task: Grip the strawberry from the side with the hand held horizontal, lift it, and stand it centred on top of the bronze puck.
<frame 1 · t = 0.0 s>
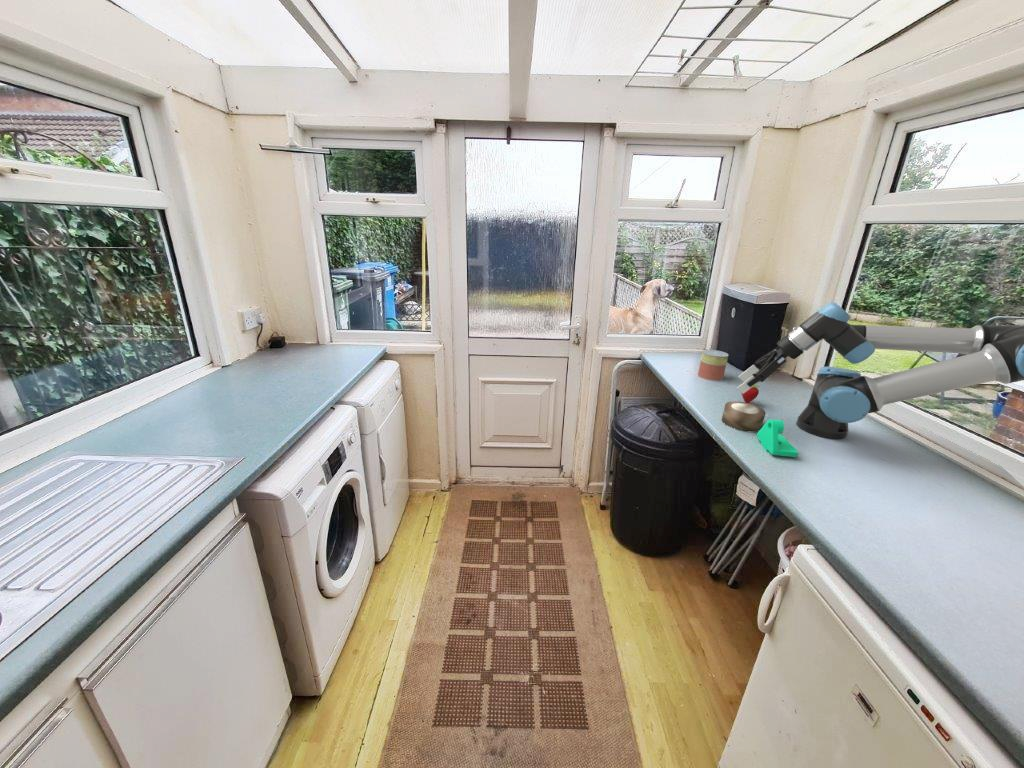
hand: (740, 384, 147), 15 cm above the worktop, tool tilted 35°, fingers open, 13 cm apart
strawberry: (746, 403, 171), on the worktop
bronze puck: (741, 423, 153), on the worktop
canned food: (710, 377, 200), on the worktop
camera mount: (775, 449, 136), on the worktop
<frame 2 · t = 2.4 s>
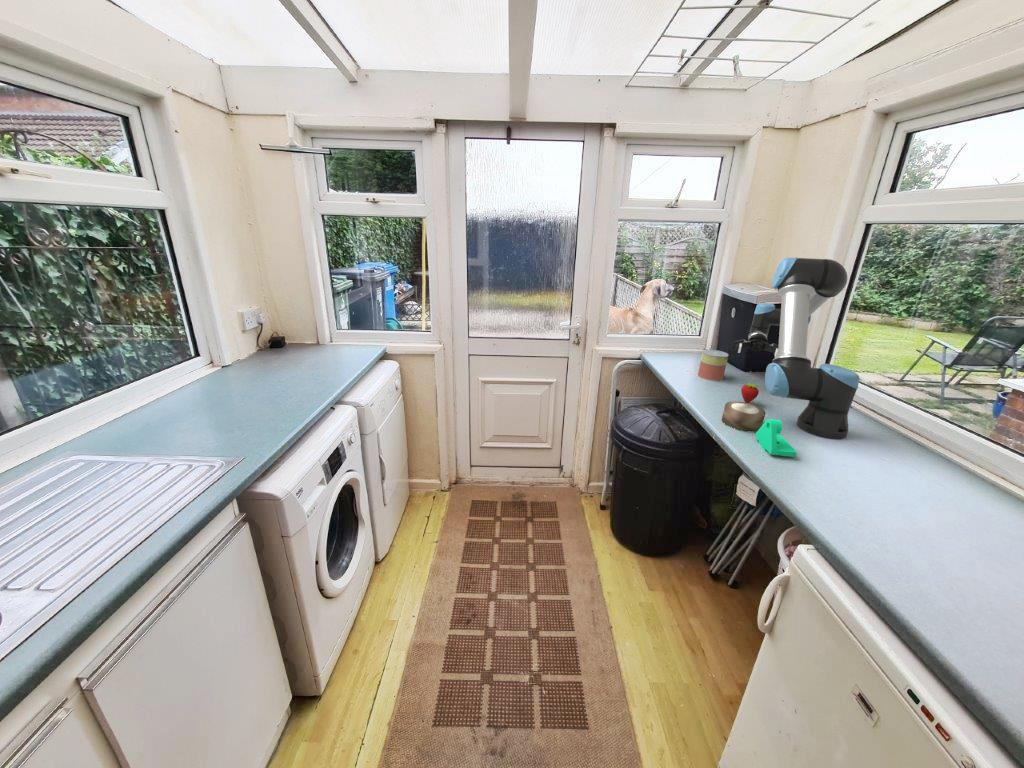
hand: (758, 352, 172), 19 cm above the worktop, tool horizontal, fingers open, 13 cm apart
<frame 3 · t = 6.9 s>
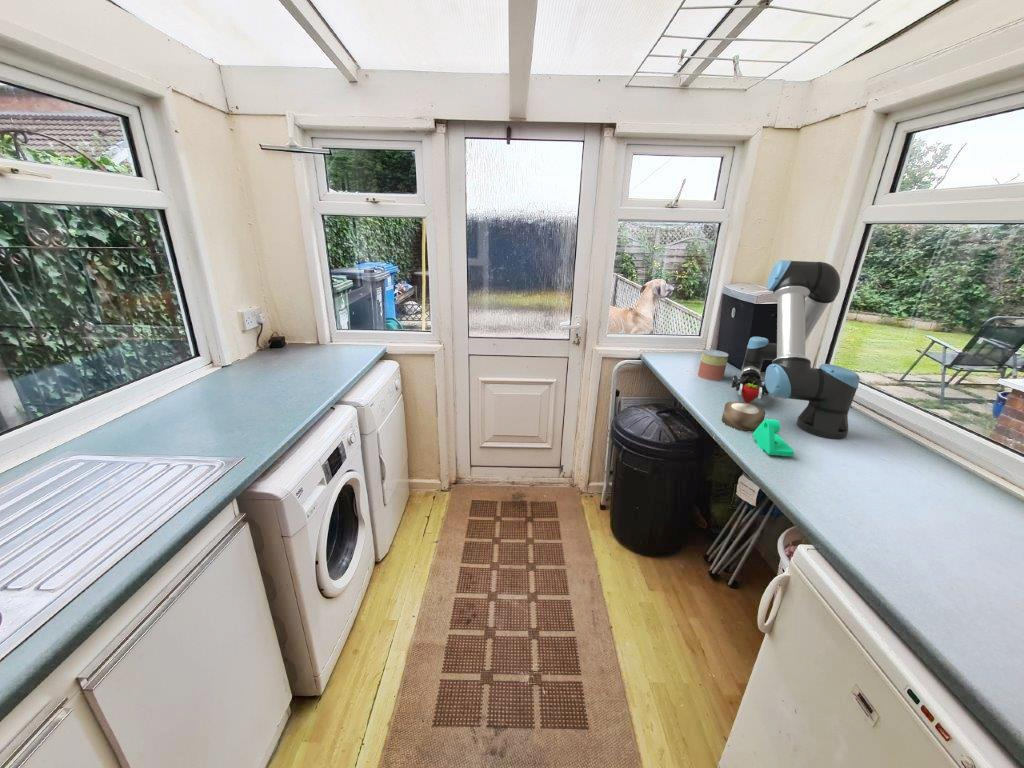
hand: (750, 393, 165), 6 cm above the worktop, tool horizontal, fingers closed on strawberry, 6 cm apart
strawberry: (746, 403, 171), on the worktop, touching gripper
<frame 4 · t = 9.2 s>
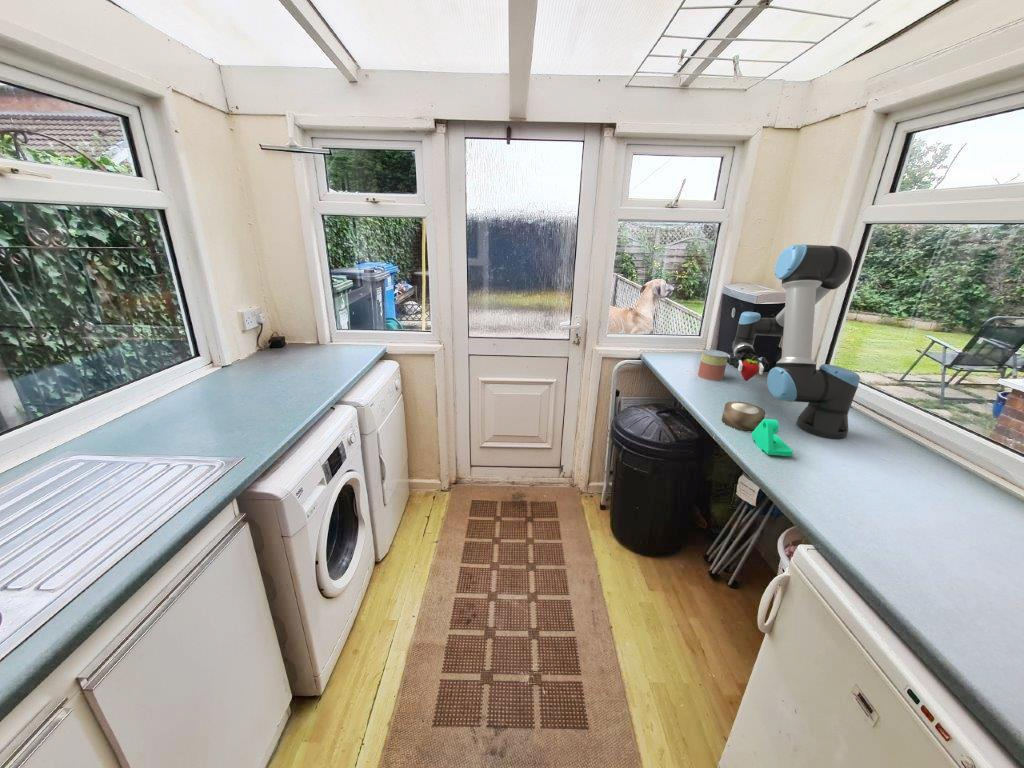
hand: (751, 369, 155), 18 cm above the worktop, tool horizontal, fingers closed on strawberry, 6 cm apart
strawberry: (745, 380, 161), point 12 cm above the worktop, touching gripper
when the fingers open (13 cm above the worktop, at t = 11.7 s): strawberry drops 1 cm, resting on bronze puck.
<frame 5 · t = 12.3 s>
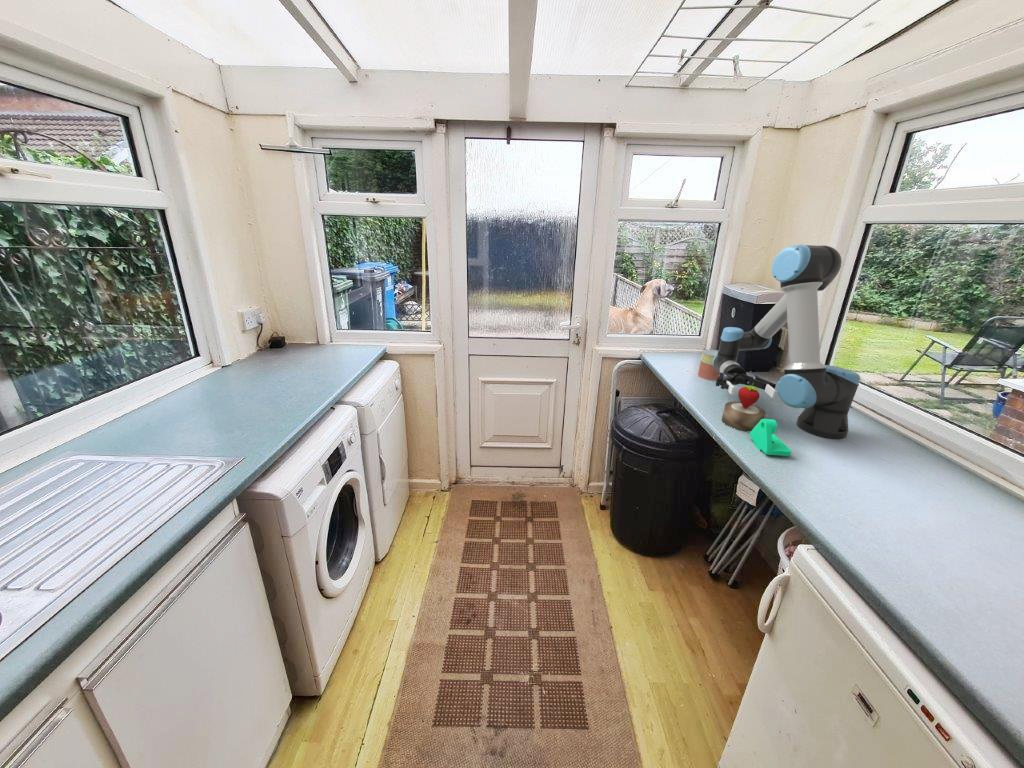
hand: (753, 392, 145), 13 cm above the worktop, tool horizontal, fingers open, 13 cm apart
strawberry: (744, 408, 151), point 6 cm above the worktop, touching bronze puck
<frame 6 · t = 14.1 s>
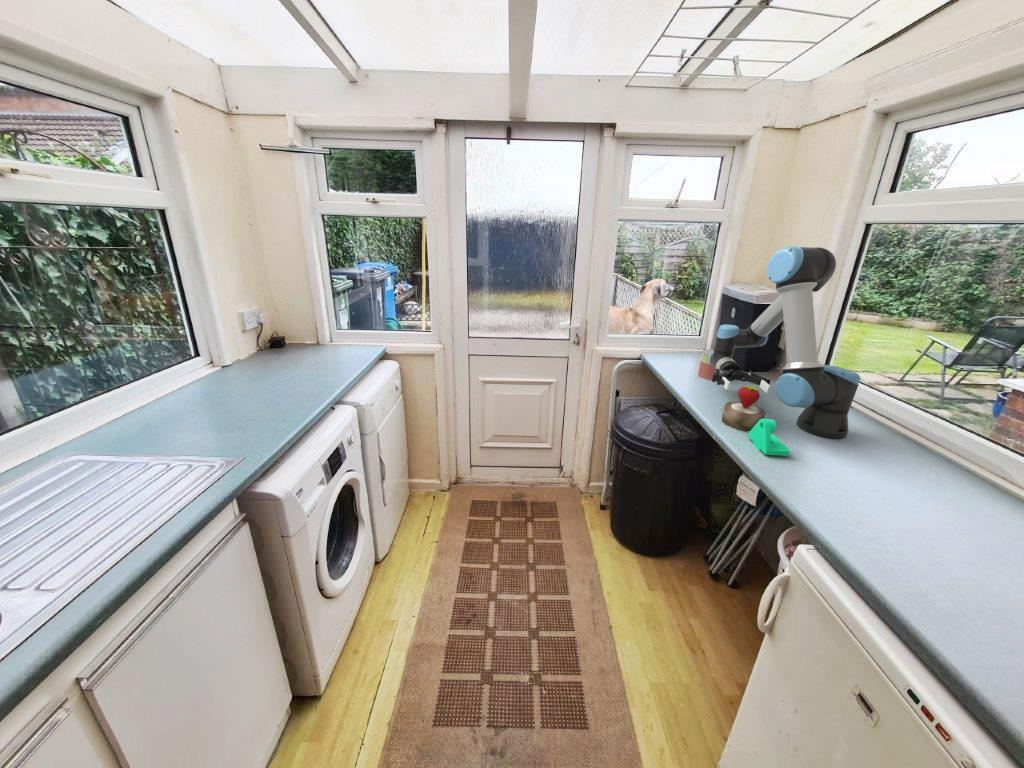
hand: (748, 388, 148), 14 cm above the worktop, tool horizontal, fingers open, 13 cm apart
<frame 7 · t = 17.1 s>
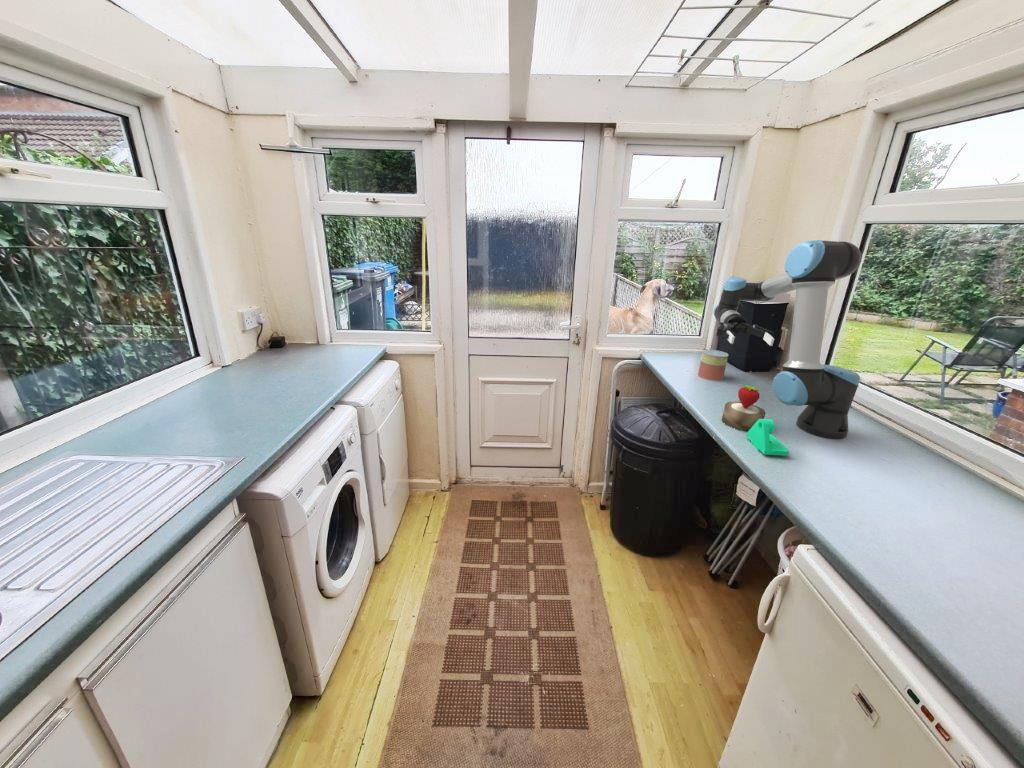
hand: (752, 341, 152), 29 cm above the worktop, tool horizontal, fingers open, 13 cm apart
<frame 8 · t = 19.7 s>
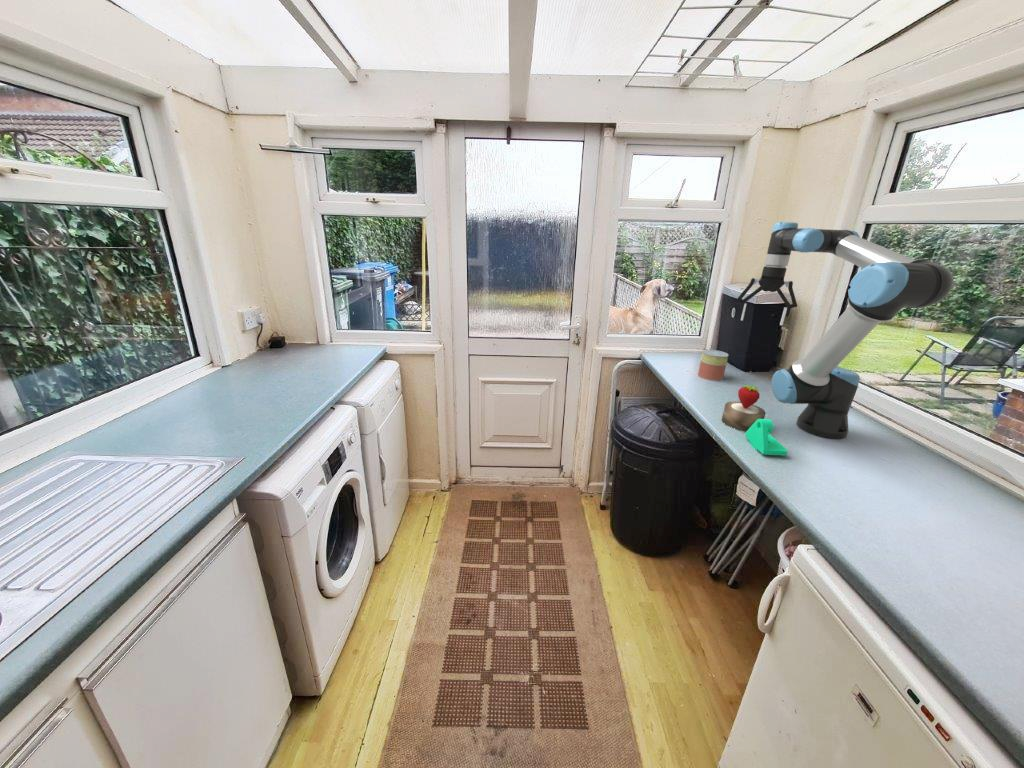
hand: (761, 322, 163), 33 cm above the worktop, tool pointing down, fingers open, 13 cm apart
at the end: strawberry inside the target area on the bronze puck (0.1 cm from its centre), point 6.0 cm above the bronze puck's base; strawberry tilted 0°; the gripper is holding nothing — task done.
